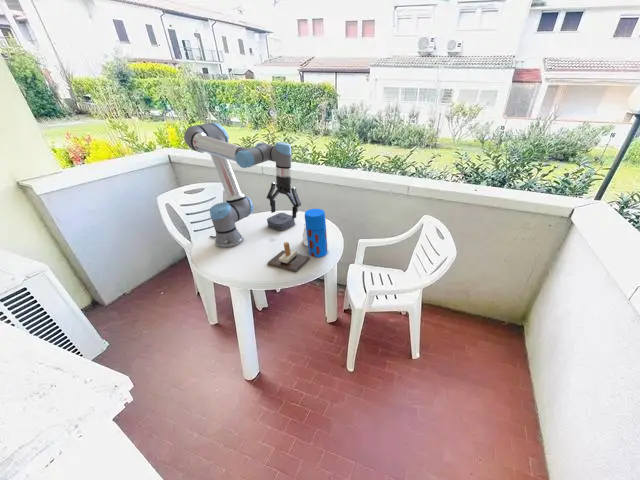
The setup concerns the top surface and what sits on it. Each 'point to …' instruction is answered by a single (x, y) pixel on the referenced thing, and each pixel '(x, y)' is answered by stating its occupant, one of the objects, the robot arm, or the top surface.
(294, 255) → the scrub brush
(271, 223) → the streaming box
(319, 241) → the thermos
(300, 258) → the walnut board
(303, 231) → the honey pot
